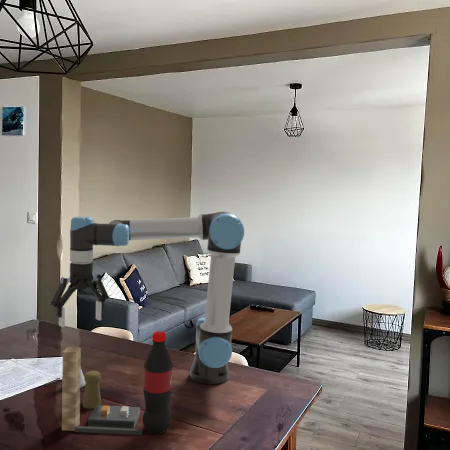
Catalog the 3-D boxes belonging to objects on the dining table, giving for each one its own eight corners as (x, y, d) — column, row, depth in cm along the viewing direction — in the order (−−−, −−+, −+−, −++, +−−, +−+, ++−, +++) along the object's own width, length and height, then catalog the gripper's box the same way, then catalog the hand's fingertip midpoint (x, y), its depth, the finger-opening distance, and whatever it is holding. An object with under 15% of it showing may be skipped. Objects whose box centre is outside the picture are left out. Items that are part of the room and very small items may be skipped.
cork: (94, 398, 162) (94, 367, 161) (105, 404, 158) (105, 372, 157) (78, 404, 157) (79, 372, 156) (89, 410, 153) (90, 377, 152)
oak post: (79, 424, 145) (80, 347, 142) (75, 430, 141) (76, 352, 138) (66, 423, 145) (67, 347, 142) (61, 430, 141) (62, 351, 138)
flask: (79, 390, 167) (80, 363, 166) (61, 388, 169) (61, 360, 168) (89, 382, 174) (90, 356, 173) (71, 379, 176) (72, 353, 175)
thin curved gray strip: (142, 432, 141) (142, 429, 141) (142, 435, 140) (142, 431, 140) (75, 429, 141) (76, 425, 141) (74, 431, 140) (74, 428, 140)
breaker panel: (139, 414, 152) (140, 402, 152) (134, 429, 143) (134, 416, 143) (96, 412, 152) (96, 400, 152) (87, 427, 143) (88, 414, 143)
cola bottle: (171, 422, 148) (174, 328, 145) (169, 436, 140) (172, 337, 137) (144, 421, 148) (147, 327, 145) (140, 435, 139) (143, 336, 137)
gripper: (108, 257, 173) (107, 314, 175) (40, 263, 156) (40, 326, 158) (119, 260, 168) (118, 319, 169) (50, 267, 150) (49, 332, 152)
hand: (80, 322), depth 164 cm, fingers open, 13 cm apart
